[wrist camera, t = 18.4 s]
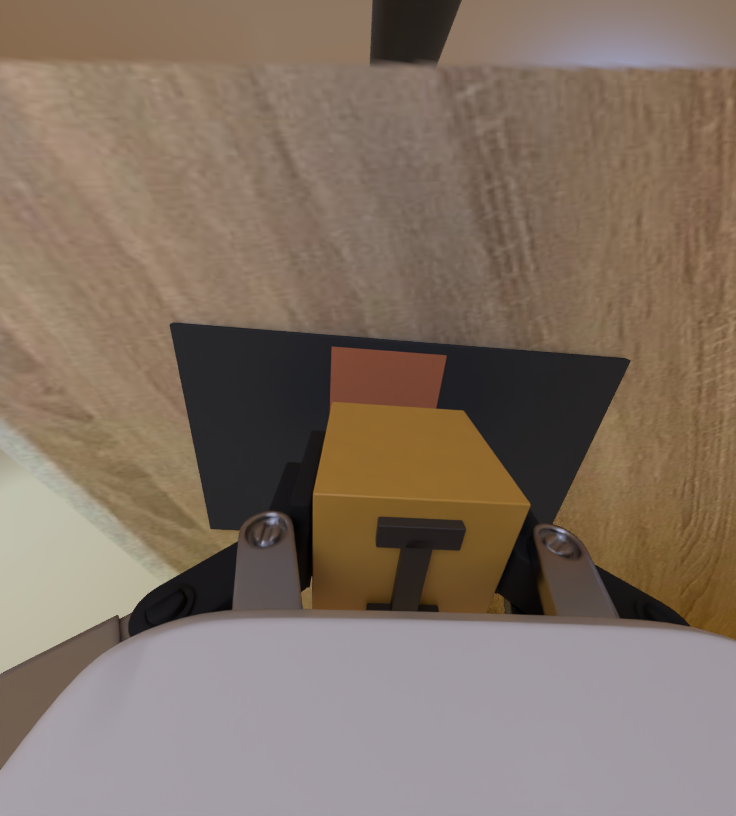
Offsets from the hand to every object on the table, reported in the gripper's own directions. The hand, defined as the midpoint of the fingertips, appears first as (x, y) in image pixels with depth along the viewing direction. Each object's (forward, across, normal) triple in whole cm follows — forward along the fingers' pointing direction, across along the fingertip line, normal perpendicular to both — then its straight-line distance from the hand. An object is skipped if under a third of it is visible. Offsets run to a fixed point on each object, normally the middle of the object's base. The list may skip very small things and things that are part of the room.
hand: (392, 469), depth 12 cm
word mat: (+6, -1, +3) cm, 7 cm away
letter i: (+1, 0, 0) cm, 1 cm away
